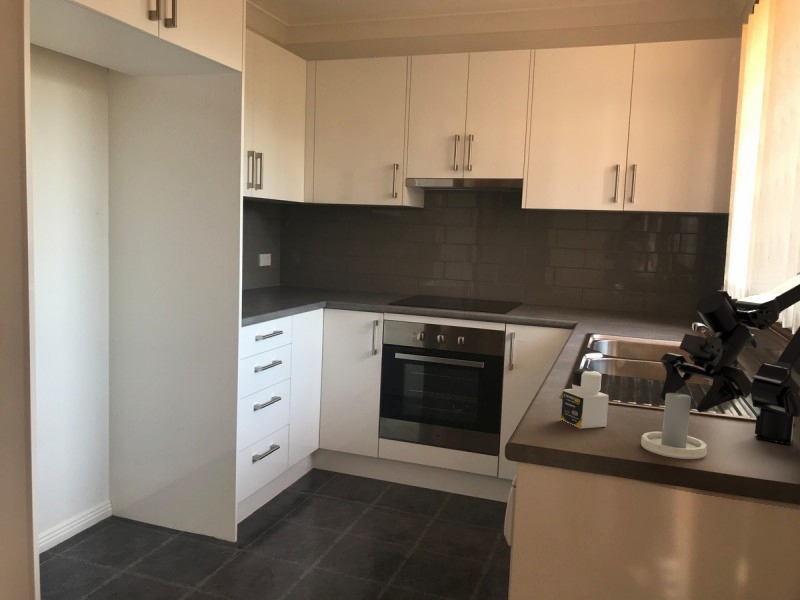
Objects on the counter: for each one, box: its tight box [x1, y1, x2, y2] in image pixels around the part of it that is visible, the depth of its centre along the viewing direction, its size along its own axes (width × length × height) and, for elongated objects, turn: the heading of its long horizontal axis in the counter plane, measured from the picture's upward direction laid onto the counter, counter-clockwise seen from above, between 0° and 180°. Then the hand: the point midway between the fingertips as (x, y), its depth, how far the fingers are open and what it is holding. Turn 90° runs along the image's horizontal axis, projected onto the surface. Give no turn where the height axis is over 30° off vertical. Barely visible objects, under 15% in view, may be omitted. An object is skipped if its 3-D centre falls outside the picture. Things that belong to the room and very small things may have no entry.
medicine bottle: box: [560, 368, 609, 429], centre depth 148 cm, size 7×7×12 cm
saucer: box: [640, 431, 708, 460], centre depth 133 cm, size 12×12×2 cm
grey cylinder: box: [661, 392, 692, 448], centre depth 132 cm, size 5×5×10 cm
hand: (679, 404), depth 132 cm, fingers open, 9 cm apart
